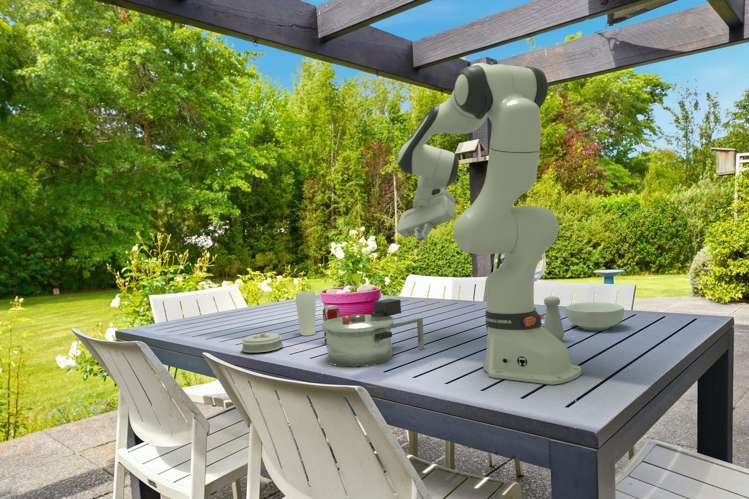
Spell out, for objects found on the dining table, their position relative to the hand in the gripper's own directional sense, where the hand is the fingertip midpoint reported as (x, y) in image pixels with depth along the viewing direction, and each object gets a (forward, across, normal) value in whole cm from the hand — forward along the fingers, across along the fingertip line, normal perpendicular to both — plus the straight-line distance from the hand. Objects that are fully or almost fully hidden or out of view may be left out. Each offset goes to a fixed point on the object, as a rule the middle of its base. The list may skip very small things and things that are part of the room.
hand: (421, 239), depth 152 cm
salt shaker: (+19, +22, +39) cm, 49 cm away
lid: (+34, -50, -11) cm, 61 cm away
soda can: (+27, -36, +5) cm, 45 cm away
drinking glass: (+20, -54, +7) cm, 58 cm away
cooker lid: (+27, -13, -3) cm, 30 cm away
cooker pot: (+33, -15, +3) cm, 36 cm away
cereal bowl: (+7, +25, +58) cm, 64 cm away
